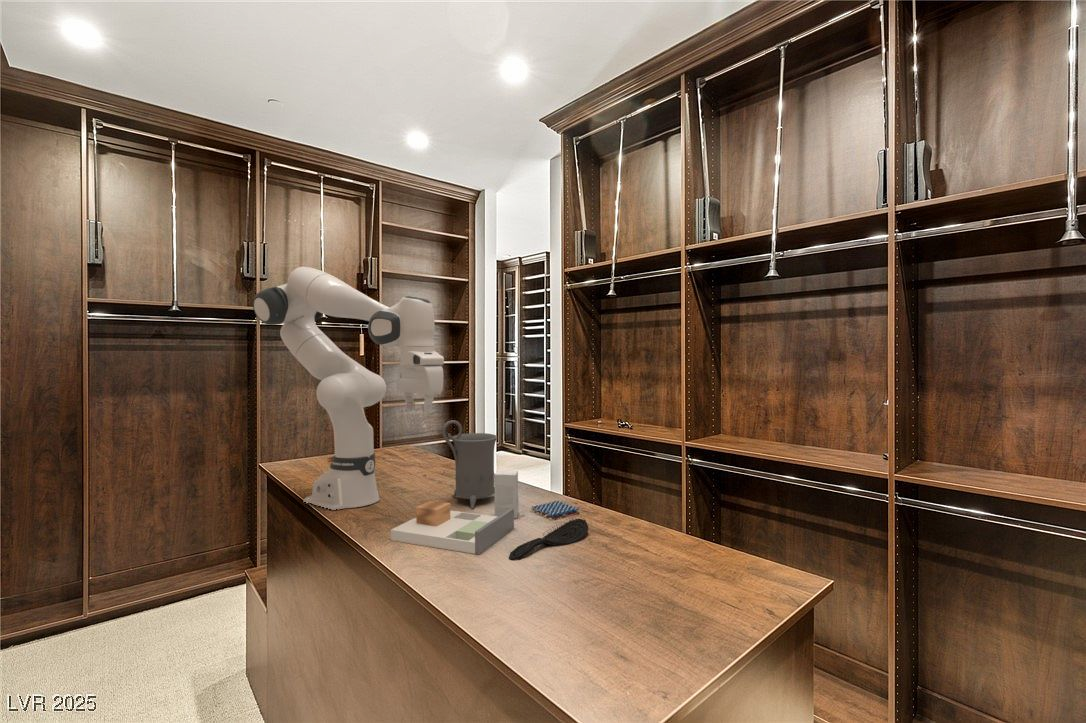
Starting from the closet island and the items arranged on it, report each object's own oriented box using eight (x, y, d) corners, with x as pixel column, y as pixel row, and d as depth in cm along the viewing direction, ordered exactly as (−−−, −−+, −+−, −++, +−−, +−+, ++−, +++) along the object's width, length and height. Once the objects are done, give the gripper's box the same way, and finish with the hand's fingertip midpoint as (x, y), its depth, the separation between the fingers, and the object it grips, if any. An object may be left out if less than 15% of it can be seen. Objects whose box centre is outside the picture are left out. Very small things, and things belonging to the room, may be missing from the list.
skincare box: (518, 514, 141) (518, 471, 140) (516, 519, 136) (516, 474, 136) (497, 513, 141) (496, 470, 141) (494, 518, 137) (493, 474, 137)
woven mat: (558, 506, 149) (558, 499, 149) (581, 515, 141) (581, 508, 141) (528, 512, 143) (528, 505, 143) (551, 523, 135) (551, 515, 135)
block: (416, 523, 126) (416, 507, 126) (430, 516, 131) (430, 500, 131) (436, 526, 124) (436, 510, 123) (450, 518, 129) (450, 503, 129)
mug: (489, 491, 164) (488, 414, 164) (511, 502, 152) (510, 418, 151) (433, 500, 154) (432, 418, 154) (452, 513, 142) (451, 423, 141)
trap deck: (390, 540, 121) (390, 519, 121) (434, 517, 138) (433, 499, 138) (479, 554, 112) (478, 532, 112) (514, 528, 129) (513, 508, 129)
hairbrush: (496, 544, 112) (570, 512, 130) (497, 560, 112) (570, 526, 131) (523, 554, 107) (595, 519, 125) (523, 571, 107) (596, 534, 125)
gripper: (390, 358, 140) (390, 408, 140) (424, 358, 124) (425, 414, 124) (411, 358, 144) (412, 407, 144) (447, 357, 128) (448, 412, 128)
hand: (418, 410), depth 134 cm, fingers open, 8 cm apart
